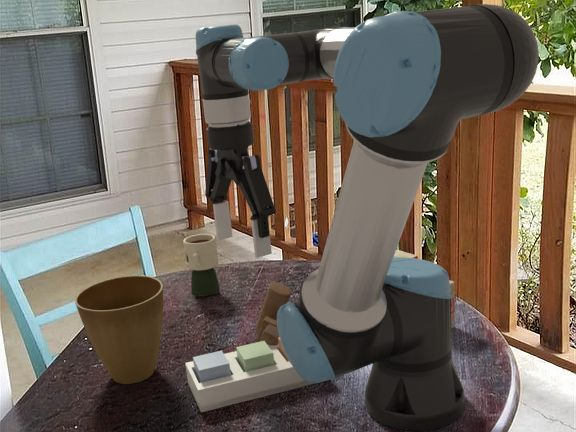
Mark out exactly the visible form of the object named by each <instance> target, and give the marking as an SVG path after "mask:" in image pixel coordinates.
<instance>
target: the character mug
mask: <svg viewBox="0 0 576 432" xmlns="http://www.w3.org/2000/svg"><path fill="white" fill-rule="evenodd" d="M182 243H183V250H184V257H185V258H184V259H185V266H186V267H187V268H188V269H189V270H192V271H191V278H190V279H191V283H190V284H191V286H190V287H191V289H190V290H191V295H192V296H195V297H206V296H211V295H215V294H218V293H219V292H220V290H221V288H220V284H219V280H218V275H217V271H216V269H215V267H217V266H218V265H219V256H218V247H217V237H216V236H215V235H214V234H211V233H199V234H194V235H189V236H187V237H185V238H184V239H183V241H182Z"/></svg>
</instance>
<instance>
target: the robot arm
mask: <svg viewBox="0 0 576 432" xmlns="http://www.w3.org/2000/svg"><path fill="white" fill-rule="evenodd" d="M538 45H539V44H538V40H537V37H536V35H535V33H534V31H533V29H532V27H531V26H530V25H529V23H528V22H527V21H526V19H524V18H523V16H521V15H519V14H518V13H517V12H515V11H513V10H511V9H510V8H507V7H504V6H501V5H498V4H488V3H487V4H486V3H483V4H472V5H466V6H464V5H463V6H456V7H448V8H447V7H446V8H440V9H429V10H422V11H421V10H420V11H412V10H399V11H394V12H391V13H387V14H385V15H382V16H375V17H372V18H368V19H366V20H365V21H363V22H361V23H359V24H358V25H357V26H356V27H355V26H353V27H349V26H330V27H326V28H320V29H312V30H304V31H297V32H294V31H293V32H285V33H276V34H275V33H274V34H266V35H258V36H249V37H248V36H247V37H244V34H243V29H242V27H241V26H240V25H239V24H237V23H235V24H223V25H214V26H204V27H199V28H198V29H197V30H196V32H195V48H196V50H195V55H196V58H197V63H198V64H197V65H198V66H197V67H198V72H199V73H198V74H199V79H200V80H199V81H200V87H201V95H202V106H203V115H204V122H205V124H207V125H208V126H207V127H206V135H207V136H206V137H207V145H208V150H207V157H208V158H207V159H208V160H207V161H208V162H207V172H206V182H205V190H204V195H205V198H206V199H209V200H210V203H211V204H212V208H213V216H214V223H215V232H216V241H217V240H218V241H222V240H226V239H230V238H233V229H232V222H231V221H232V220H231V215H230V214H231V212H230V205H229V201H227V200H229V196H228V194H229V193H228V192H229V189H230V186H231V183H232V181H233V182H234V184H235V185H236V186H239V189H240V191H241V193H242V195H243V198H244V199H245V201H246V203H247V205H248V208H249V210H250V212H251V214H252V215H251V216H250V221H251V223H250V224H251V231H252V240H253V242H252V243H253V247H254V248H253V249H254V250H253V251H254V257H255V258H257V259H258V258H261V257H266V256H268V255H271V254H272V244H271V233H270V225H269V222H270V221H269V217H270V216H272V215H276V213H277V211H276V207H275V204H274V202H273V198H272V196H271V193H270V192H271V191H270V190H269V187H268V183H267V181H266V177H265V175H264V173H263V170H262V165H261V158H260V156H259V154H254V155H249V151H248V148H249V147H251V146H252V145H253V144H254V143H255V137H254V128H253V123H251V121H249V120H250V119H251V118H252V113H251V99H250V91H249V90H251V91H253V92H259V91H267V90H272V89H274V88H276V87H277V86H281V85H289V84H295V83H301V82H307V81H315V80H323V79H324V80H325V79H327V80H333V86H334V87H336V91H337V92H336V93H335V95H334V100H335V103H336V104H335V105H336V107H337V110H338V112H339V115H340V117H341V119H342V120H343V122H344V123H345V128H346V130H347V132H348V134H349V135H350V137H351V139H352V140H353V143H352V147H351V150H350V155H349V157H348V158H349V159H348V162H347V165H346V168H345V172H344V176H343V180H342V183H341V187H340V190H339V195H338V197H337V202H336V205H335V209H334V213H333V217H332V220H331V223H330V228H329V231H328V234H327V238H326V242H325V246H324V250H323V253H322V257H321V260H320V264H319V268H317V269H315V270H314V271H312V272H311V273H310V274H308V276H307V277H306V278H305V279H304V281H303V283H302V286H301V291H300V295H299V298H298V299H297V300H295V301H290V300H289V301H288V302H287V304H285V305H282V306H281V307H280V308H279V310H278V312H277V328H278V333H279V337H280V340H281V343H282V346H283V349H284V351H285V353H286V355H287V357H288V359H289V361H290V363H291V365H292V366H293V368H294V369H295V371H296V372H297V373H298V374H299V375H300V376H301V377H302V378H303V379H304V380H306V381H308V382H310V383H315V384H319V383H323V382H327V381H334V380H335V379H336V378H339V377H341V376H345V375H347V374H349V373H352V372H354V371H358V370H360V369H362V368H365V367H367V366H370V365H372V367H371V369H370V372H369V376H368V379H367V382H366V386H365V388H364V390H365V391H364V397H365V399H364V400H365V401H364V402H365V403H364V404H365V408H366V411H367V412H368V414H369V416H370V417H371V418H373V419H374V420H375V421H376V422H378V423H379V424H382V425H385V426H387V427H390V428H392V429H397V430H403V431H409V432H411V431H412V432H414V431H415V432H422V431H430V430H436V429H440V428H443V427H445V426H448V425H451V424H452V423H453V422H455V421H456V420H458V419H459V418H460V417H461V416H462V415H463V412H464V410H465V405H466V403H465V390H464V387H463V384H462V382H461V378H460V376H459V374H458V371H457V368H456V366H455V363H454V360H453V354H452V350H453V349H452V348H453V347H452V328H451V298H452V294H451V292H450V281H451V280H450V276H449V274H448V272H447V270H445V268H444V267H442V266H441V265H439V264H437V263H435V262H432V261H429V260H426V259H422V258H421V259H420V258H418V259H415V258H406V257H394V254H395V252H396V250H398V246H399V242H400V241H401V237H402V234H403V232H404V229H405V226H406V224H407V222H408V218H409V216H410V213H411V210H412V207H413V205H414V202H415V199H416V196H417V194H418V190H419V188H420V185H421V182H422V180H423V178H424V175H425V171H426V169H427V166H428V164H429V163H431V162H435V161H437V160H439V159H440V158H442V157H443V156H444V155H446V153H447V151H448V150H449V147H450V144H451V142H452V139H453V137H454V134H455V133H456V132H455V131H456V129H457V126H458V124H459V122H460V121H461V120H464V119H469V118H474V117H479V116H482V115H483V116H484V115H487V114H492V113H494V112H497V111H500V110H503V109H505V108H507V107H508V106H510V105H512V104H513V103H515V102H516V101H517V100H519V98H520V97H522V95H524V94H525V92H526V91H527V90H528V88H529V87H530V85H531V84H532V83H533V80H534V78H535V75H536V74H537V69H538V66H539V55H540V54H539V53H540V51H539V46H538ZM326 380H327V381H326Z"/></svg>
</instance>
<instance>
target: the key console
mask: <svg viewBox="0 0 576 432" xmlns="http://www.w3.org/2000/svg"><path fill="white" fill-rule="evenodd" d="M268 346H269V348H270V349H271V351H272V352H273V355H274V365H272V366H268V367H264V368H260V369H256V370H252V371H247V372H243V370H242V369H241V367H240V365H239V364H238V359H237V350H235V351H230V352H227V353H224V355H225V357H226V358H227V360H228V362H229V364H230V372H231V376H227V377H223V378H218V379H214V380H210V381H206V382H202V383H199V382H198V380H197V378H196V376H195V370H194V363H193V360H192V361H188V362H185V370H186V371H185V372H186V376H187V384H188V387H189V389H190V392H191V393H192V396H193V398H194V400H195V403H196V405H197V406H198V408H199V411H200V413H203V412H208V411H213V410H216V409H220V408H223V407H228V406H231V405H232V404H233V405H236V404H239V403H243V402H247V401H252V400H255V399H260V398H264V397H267V396H271V395H276V394H280V393H283V392H288V391H291V390H296V389H299V388H303V387H307V386H311V385H315V384H316V383H310V382H308V381H306V380H304V379H303V378H302V377H301V376H300V375H299V374H298V373H297V372H296V371H295V369H294V368H293V366H292V365H291V363H290V361H289V362H287V361H286V360H285V359H284V357H283V356H282V355H281V353H280V352H279V343H278V344H277V345H268ZM327 381H328V380H326V381H325V382H327Z"/></svg>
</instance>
